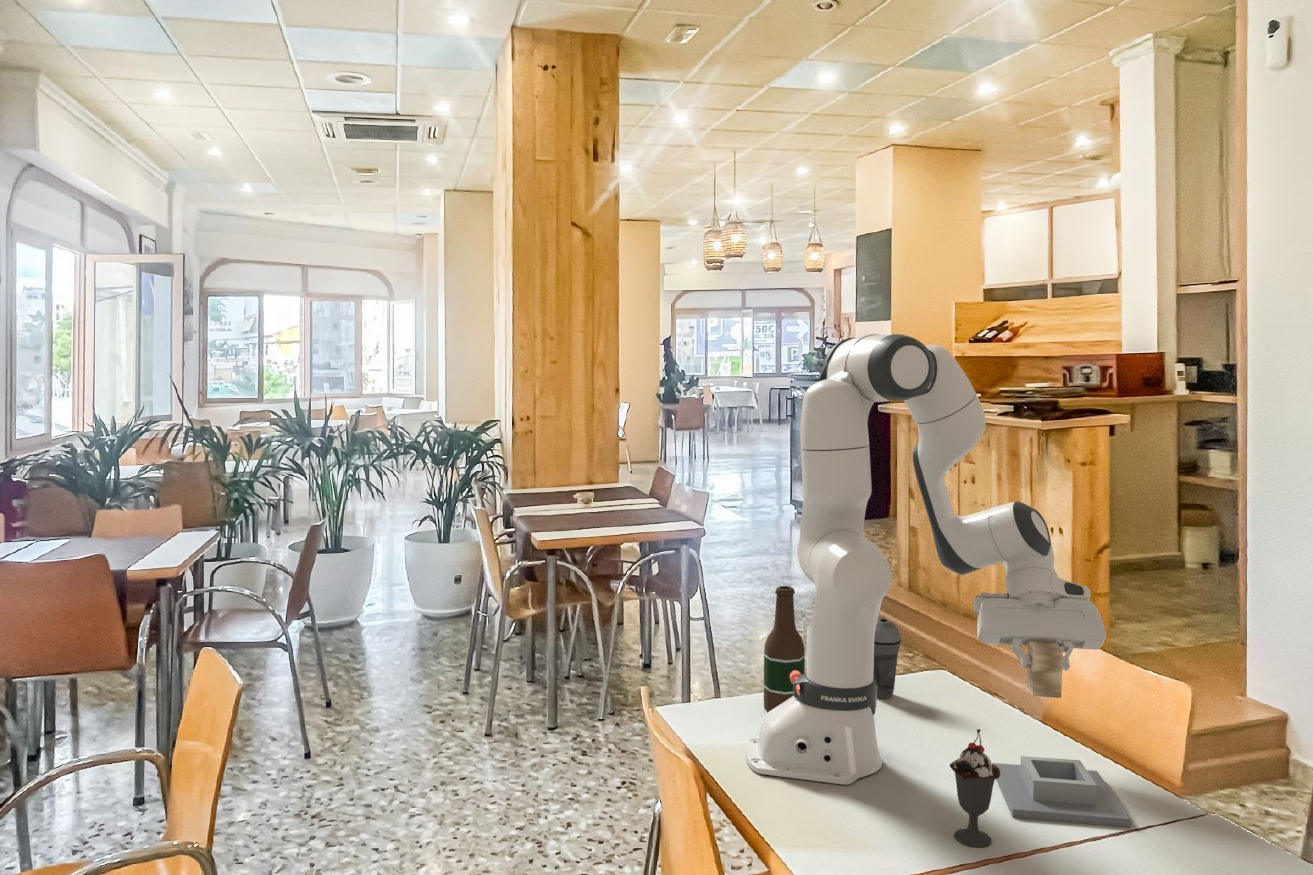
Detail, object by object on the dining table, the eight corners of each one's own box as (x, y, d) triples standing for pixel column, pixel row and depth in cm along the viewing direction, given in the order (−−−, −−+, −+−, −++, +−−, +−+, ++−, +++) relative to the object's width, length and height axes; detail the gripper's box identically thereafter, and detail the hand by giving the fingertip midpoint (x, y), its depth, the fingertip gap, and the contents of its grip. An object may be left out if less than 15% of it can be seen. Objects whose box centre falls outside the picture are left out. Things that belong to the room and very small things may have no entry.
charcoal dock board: (1012, 817, 131) (1013, 789, 131) (992, 769, 147) (992, 745, 147) (1130, 827, 128) (1131, 798, 128) (1096, 777, 144) (1097, 752, 144)
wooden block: (1032, 696, 148) (1034, 648, 147) (1026, 686, 152) (1028, 640, 152) (1061, 697, 147) (1062, 650, 146) (1054, 688, 151) (1056, 642, 151)
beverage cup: (901, 703, 177) (903, 603, 176) (863, 700, 178) (865, 601, 177) (898, 690, 184) (900, 594, 183) (862, 687, 186) (864, 592, 184)
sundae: (986, 825, 129) (989, 723, 128) (1006, 850, 122) (1009, 743, 121) (940, 826, 128) (943, 724, 127) (958, 851, 122) (961, 743, 121)
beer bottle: (782, 699, 179) (783, 580, 177) (812, 710, 173) (814, 588, 171) (755, 709, 174) (756, 586, 172) (785, 720, 168) (786, 594, 166)
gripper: (974, 583, 157) (982, 654, 148) (1099, 588, 153) (1115, 662, 144) (969, 601, 162) (977, 672, 153) (1090, 607, 158) (1106, 680, 149)
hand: (1045, 667), depth 149 cm, fingers closed on wooden block, 4 cm apart
